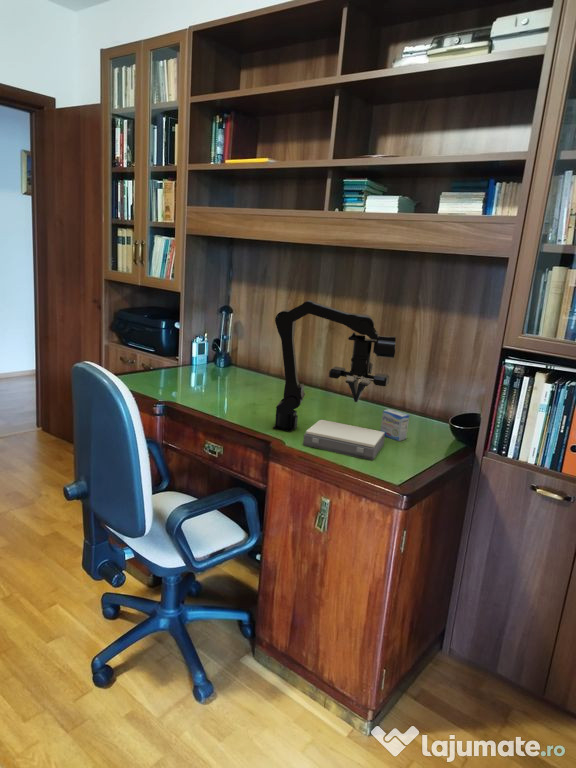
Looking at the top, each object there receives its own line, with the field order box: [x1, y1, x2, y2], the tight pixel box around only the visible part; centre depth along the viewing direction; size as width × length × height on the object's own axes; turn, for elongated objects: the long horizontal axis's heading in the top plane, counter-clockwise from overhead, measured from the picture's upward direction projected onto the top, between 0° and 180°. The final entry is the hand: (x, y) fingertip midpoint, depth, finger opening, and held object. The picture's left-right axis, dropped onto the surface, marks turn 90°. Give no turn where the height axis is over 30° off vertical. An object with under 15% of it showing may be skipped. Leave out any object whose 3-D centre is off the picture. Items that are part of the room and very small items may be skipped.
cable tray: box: [302, 433, 385, 461], centre depth 165 cm, size 22×16×4 cm
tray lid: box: [305, 419, 385, 448], centre depth 165 cm, size 22×14×1 cm, turn 68°
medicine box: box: [379, 408, 410, 442], centre depth 176 cm, size 8×4×9 cm, turn 45°
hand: (356, 401), depth 171 cm, fingers closed
